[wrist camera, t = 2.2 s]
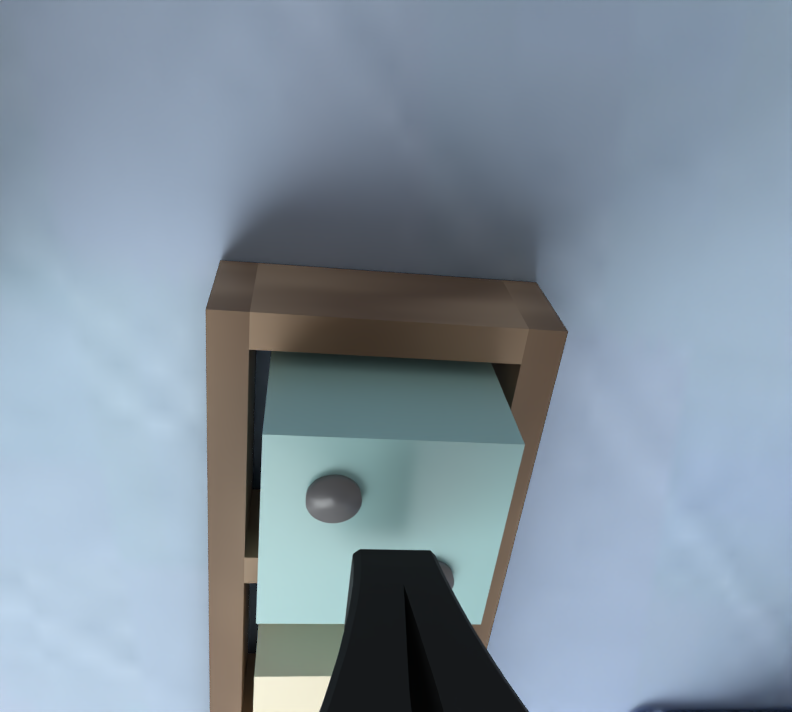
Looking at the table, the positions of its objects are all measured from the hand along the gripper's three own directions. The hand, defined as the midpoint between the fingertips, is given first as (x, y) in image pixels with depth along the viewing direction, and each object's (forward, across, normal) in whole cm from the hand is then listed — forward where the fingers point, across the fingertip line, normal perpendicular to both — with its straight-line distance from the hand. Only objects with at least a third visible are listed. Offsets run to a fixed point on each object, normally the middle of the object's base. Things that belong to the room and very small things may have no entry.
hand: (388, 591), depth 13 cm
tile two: (+5, 0, 0) cm, 5 cm away
